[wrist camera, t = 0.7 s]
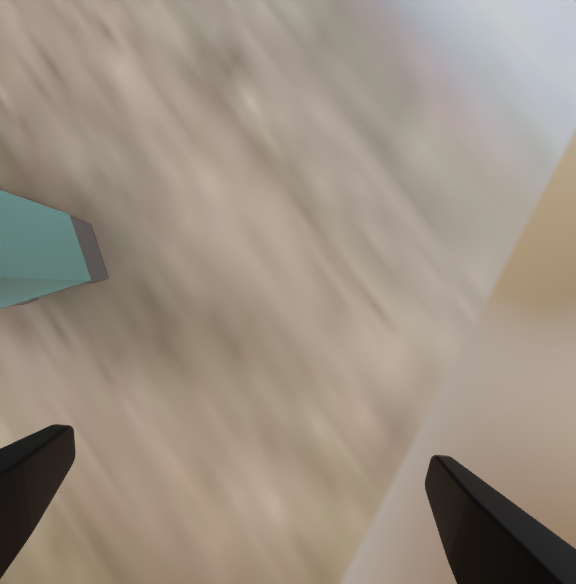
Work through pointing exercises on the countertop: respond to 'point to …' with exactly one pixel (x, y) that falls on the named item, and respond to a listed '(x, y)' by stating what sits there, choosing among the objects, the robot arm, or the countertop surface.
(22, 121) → the countertop surface
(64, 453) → the robot arm
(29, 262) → the teal pillar on feet
